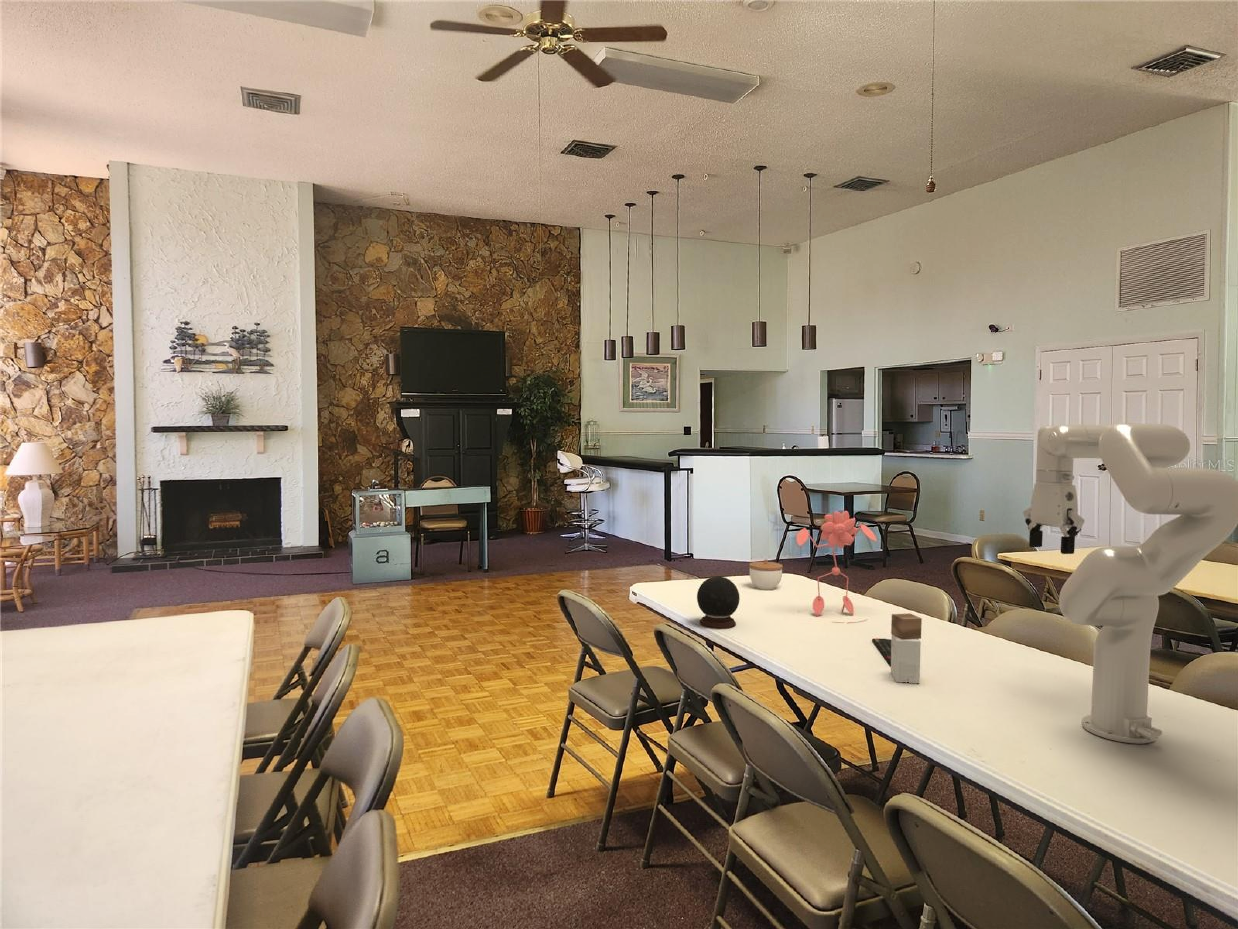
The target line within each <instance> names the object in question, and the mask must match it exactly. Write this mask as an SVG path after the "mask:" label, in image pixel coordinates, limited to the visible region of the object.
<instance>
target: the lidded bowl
mask: <svg viewBox="0 0 1238 929" xmlns="http://www.w3.org/2000/svg"><path fill="white" fill-rule="evenodd" d="M748 566H749V567H748V568H749V578H750V580H751V582H752V584H753V585H754V586H755V588H756V589H758V590H762V591H773V590H775V589H776V588H777V587H778V586H779V584H780V583H781V581H782V577H783V576H782V575H783V567H784V566H783V564H782V563H778V562H774V561H773V562H772V561H769V560H768V559H767V558H766V559H765V558H764V561H753V562H749V564H748Z"/></svg>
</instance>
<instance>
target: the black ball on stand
mask: <svg viewBox="0 0 1238 929" xmlns="http://www.w3.org/2000/svg"><path fill="white" fill-rule="evenodd" d="M696 593H697V594H696V601H697V602H696V603H697V604H698V608H699V609H700V610H701V612H702V613H703V614H704V616H702V617H701V619H700V620H699V625H700V626H701V627H703V628H706V629H714V630H728V629H729V630H730V629H733V628H736V625H737V623H736V621H735V619H734V618H733V617H731V616H732V615H733V614H734V613H735V612H736V611H737V609H738V607H739V605H740V592H739V589H738V588H737V586H736V584H735V583H734V582H733V581H732V580H731V579H728V578H727V577H725V576H719V575H717V576H712V577H711V576H710V577H709V578H707V579H704V581H703V582H702V583H701V584H700V586H699V587H698V590H697V592H696Z"/></svg>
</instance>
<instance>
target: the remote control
mask: <svg viewBox="0 0 1238 929" xmlns="http://www.w3.org/2000/svg"><path fill="white" fill-rule="evenodd" d="M891 640H892V638H891V639H889V638H876V637H875V638H872V639H871V642H872V643H873V644H874V646H875V648H876V649H877V650H878V652H879V653H880V654H881V656H882V657H883V659H884V660H885V661H886V662H887V664H888V665H889V666H890V668H891Z"/></svg>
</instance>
